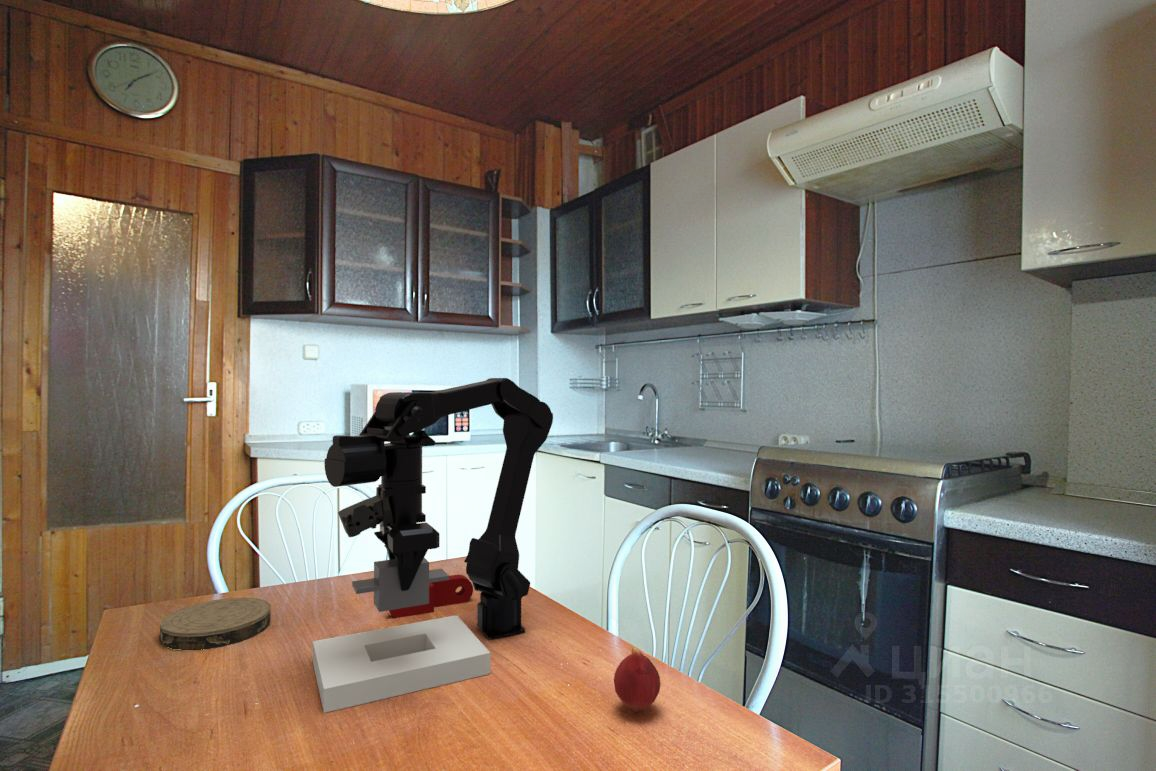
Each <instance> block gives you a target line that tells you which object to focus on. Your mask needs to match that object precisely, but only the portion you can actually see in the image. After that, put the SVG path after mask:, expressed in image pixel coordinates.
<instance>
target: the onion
mask: <svg viewBox="0 0 1156 771" xmlns="http://www.w3.org/2000/svg"><path fill="white" fill-rule="evenodd" d="M613 684H614V691H615V693H616V695H617V698H619V699H620V701H621V702H622V703H624V705H626V706H627V707H628V708H629V709H630V710H631V711H633V712H634V713H638V712H640V711H643V710H644V709H646V708H648V707H649V706H651V705H652V704H653V703H655V701H656V699H657V697H658V696H659V693H660V689H661V677H660V674H659V671H658V669H657V667H656V666H655V665H654V664H653V662H652V661H651V660H650V658H649V657H648V656H645V655H644V654H643V653H642V652H641V651H640V650H639V648H638V647H637V646H633V647H632V648H631V653H630V654H629V655H627V656H626V657H625V658H623V659H622V660H621V661H620V662H619V665H618V666H617V667H616V669H615V673H614V677H613Z"/></svg>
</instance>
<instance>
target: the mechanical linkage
mask: <svg viewBox="0 0 1156 771" xmlns="http://www.w3.org/2000/svg"><path fill="white" fill-rule="evenodd" d="M458 588H461V589H460V590H459V591H457V589H458ZM473 593H474V586H473V583H472V581H471V580H470V579H469V578H468V577H467V576H466V575H464V574H452V575H449V580H445V581H438V582H432V583H429V604H423V605H418V606H412V607H406V608H400V609H394V610H388V612H389V614H390V615H391V616H392V617H393V618H395V619H400V618H405V617H411V616H419V615H424V614H426V615H427V614H431V613H434V612H435V608H438V607H445V606H452V605H458V604H465V603H467V602H469V601H470V599H472V596H473Z"/></svg>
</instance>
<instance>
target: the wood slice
mask: <svg viewBox="0 0 1156 771" xmlns="http://www.w3.org/2000/svg"><path fill="white" fill-rule="evenodd" d="M271 615H272V614H271V603H270V602H268V601H267V600H265V599H261V598H257V597H245V596H244V597H227V598H220V599H213V600H209V601H208V600H207V601H204V602H199V603H195V604H193V605H189V606H185V607H183V608H179V609H177V610H176V611H173V612H171V613H170V614H168V615H166V617H164V618H162V620H161V622H160V624H159V642H160V641H161V642H160V644H161V643H162V644H163V645H164V646H166V647H169V648H172V649H181V650H194V651H204V650H203V649H207V650H211V648H213V649H218V647H219V648H223V647H227V645H228V646H232V645H235V644H239V643H242V642H245V641H247V640H249V639H251V638H255V637H256V636H258V635H260V634H261V633H262V634H263V632H265V631H266V630H267V629H268V628H269V627H270V625H271ZM244 640H245V641H244ZM162 644H161V645H162ZM231 644H232V645H231ZM163 645H162V646H163ZM164 646H163V647H164ZM166 647H165V648H166ZM169 648H168V649H169ZM172 649H171V650H172ZM201 649H202V650H201ZM181 650H180V651H181Z"/></svg>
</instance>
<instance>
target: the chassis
mask: <svg viewBox="0 0 1156 771" xmlns="http://www.w3.org/2000/svg"><path fill="white" fill-rule="evenodd" d="M312 664H313V669H314V673H315V679H316V683H317V688H318V692H319V698H320V702H321V707H322V710H323V714H325V713H329V712H333V711H338V710H343V709H346V708H351V707H356V706H359V705H364V704H368V703H373V702H377V701H381V700H385V699H389V698H390V699H391V698H393V697H399V696H402V695H406V694H410V693H411V694H412V693H413V692H414V693H415V692H419V691H422V690H427V689H432V688H437V687H441V686H444V685H449V684H453V683H457V682H461V681H466V680H470V679H474V678H478V677H483V676H487V675H490V674H491V651H489V649H488V648H487V647H486V646H485V645H484V644H483V643H482V641H480V640H479V638H478V637H477V636H476V634H474V632H473V631H471V629H470V628H469V627H468V626H467V624H466V623H465V622H464V621H463V620H462V619H461V618H460V616H458V615H449V616H445V617H440V618H434V619H433V618H432V619H428V620H424V621H423V620H422V621H416V622H412V623H407V624H400V625H395V626H389V627H384V628H378V629H373V630H368V631H363V632H357V633H351V634H345V635H339V636H335V637H330V638H325V639H319V640H313V641H312Z"/></svg>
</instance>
